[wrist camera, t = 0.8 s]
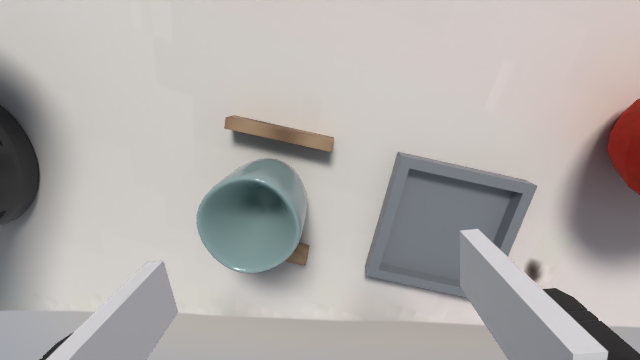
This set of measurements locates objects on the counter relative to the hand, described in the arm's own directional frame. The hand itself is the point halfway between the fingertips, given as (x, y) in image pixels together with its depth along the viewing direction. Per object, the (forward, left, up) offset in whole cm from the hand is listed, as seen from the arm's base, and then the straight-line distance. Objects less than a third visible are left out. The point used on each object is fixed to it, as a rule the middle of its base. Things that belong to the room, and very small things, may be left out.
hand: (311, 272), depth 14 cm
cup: (-5, -3, -19) cm, 20 cm away
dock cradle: (+13, -3, -19) cm, 23 cm away
